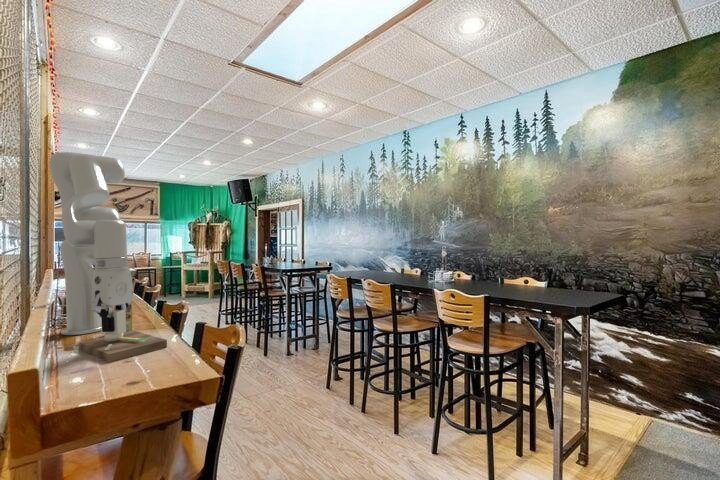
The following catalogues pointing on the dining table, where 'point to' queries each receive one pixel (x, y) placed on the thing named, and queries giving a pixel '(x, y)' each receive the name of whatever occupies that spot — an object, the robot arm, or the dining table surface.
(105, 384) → the dining table surface
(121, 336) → the white block on stick
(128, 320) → the candy box
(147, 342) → the dial board
